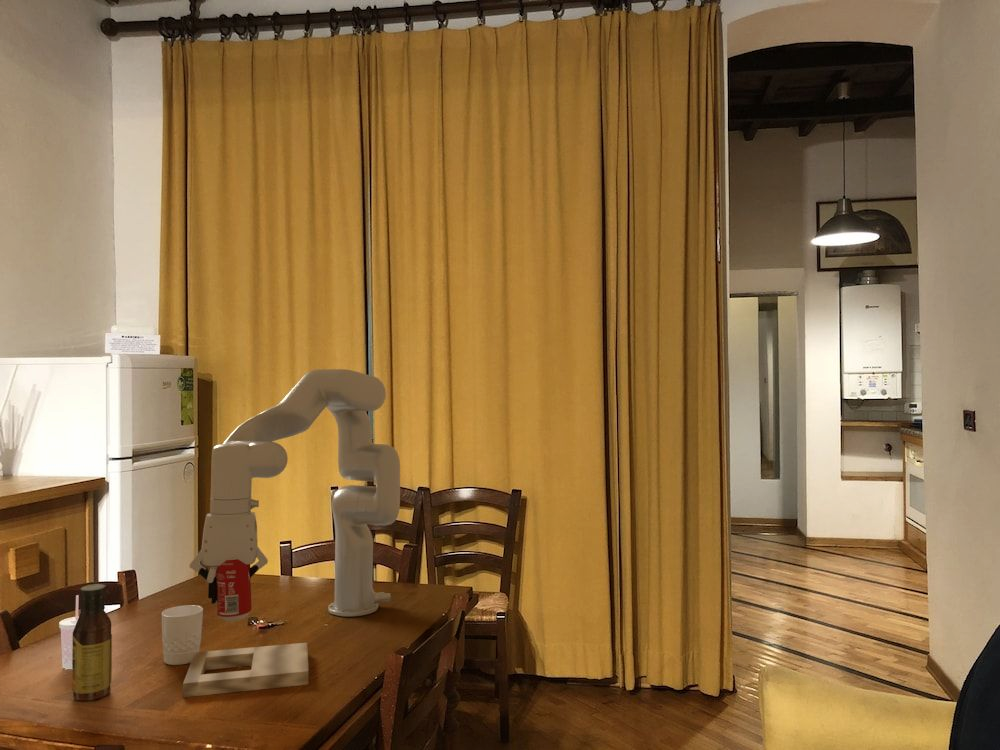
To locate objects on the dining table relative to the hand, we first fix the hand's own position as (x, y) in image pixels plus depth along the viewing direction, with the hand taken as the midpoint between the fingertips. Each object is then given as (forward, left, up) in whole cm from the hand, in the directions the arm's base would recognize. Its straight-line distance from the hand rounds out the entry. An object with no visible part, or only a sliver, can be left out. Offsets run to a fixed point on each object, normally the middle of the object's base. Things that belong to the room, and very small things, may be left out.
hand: (228, 599), depth 138 cm
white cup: (+10, -12, -15) cm, 22 cm away
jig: (-4, 0, -15) cm, 15 cm away
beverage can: (-1, 0, -4) cm, 4 cm away
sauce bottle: (+23, +3, -15) cm, 28 cm away
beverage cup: (+30, -14, -15) cm, 36 cm away
